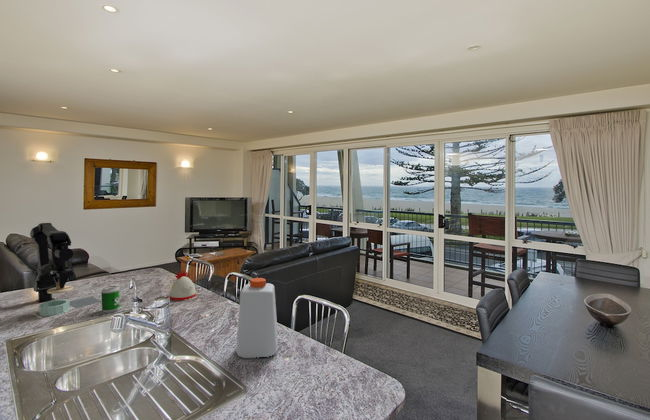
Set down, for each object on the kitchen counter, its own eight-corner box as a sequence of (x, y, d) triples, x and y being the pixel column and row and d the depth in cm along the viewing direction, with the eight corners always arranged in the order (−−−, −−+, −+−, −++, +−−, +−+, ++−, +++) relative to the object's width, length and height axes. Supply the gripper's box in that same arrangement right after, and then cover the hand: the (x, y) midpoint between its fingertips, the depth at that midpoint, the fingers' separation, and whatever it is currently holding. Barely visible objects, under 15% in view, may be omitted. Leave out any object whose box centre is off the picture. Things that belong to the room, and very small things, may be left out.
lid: (43, 291, 163) (43, 282, 163) (68, 286, 172) (68, 278, 172) (51, 295, 158) (51, 286, 157) (77, 289, 166) (76, 281, 166)
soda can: (111, 314, 161) (110, 290, 161) (98, 312, 163) (97, 289, 162) (123, 308, 169) (122, 286, 168) (111, 307, 170) (110, 284, 169)
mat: (65, 303, 176) (65, 302, 176) (91, 297, 186) (91, 296, 186) (76, 308, 168) (76, 308, 168) (102, 302, 178) (102, 301, 178)
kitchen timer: (165, 296, 188) (165, 271, 187) (188, 291, 199) (188, 266, 198) (176, 302, 179) (176, 275, 178) (200, 296, 190) (200, 270, 189)
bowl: (36, 313, 161) (35, 304, 161) (64, 306, 171) (64, 298, 170) (44, 318, 155) (43, 309, 155) (73, 311, 164) (72, 302, 164)
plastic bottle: (241, 340, 136) (241, 274, 134) (278, 340, 137) (279, 274, 135) (234, 360, 121) (234, 285, 119) (275, 359, 122) (276, 285, 120)
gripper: (31, 257, 162) (32, 288, 163) (45, 262, 152) (47, 295, 153) (58, 254, 171) (60, 283, 172) (74, 258, 161) (75, 289, 162)
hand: (60, 287), depth 165 cm, fingers closed on lid, 3 cm apart
